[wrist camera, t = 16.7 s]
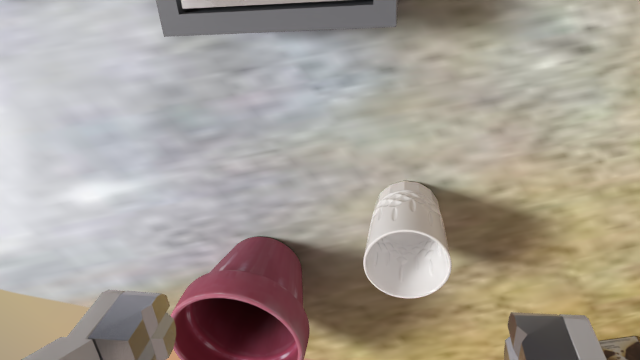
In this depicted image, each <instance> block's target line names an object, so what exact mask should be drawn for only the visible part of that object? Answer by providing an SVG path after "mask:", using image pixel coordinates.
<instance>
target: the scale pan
mask: <svg viewBox="0 0 640 360" xmlns="http://www.w3.org/2000/svg"><path fill="white" fill-rule="evenodd" d="M322 1H341V0H181V3H182V8H183V9H187V8H206V7H226V6H245V5H264V4H283V3H302V2H322Z"/></svg>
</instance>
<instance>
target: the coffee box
mask: <svg viewBox="0 0 640 360" xmlns="http://www.w3.org/2000/svg"><path fill="white" fill-rule="evenodd" d="M599 344H600V346H601V348H602V350H603V352H604V355H605V357H606V359H607V360H640V343H639V341H638V339H637V337H635V336H633V337H626V338H619V339H612V340H604V341H599Z"/></svg>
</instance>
